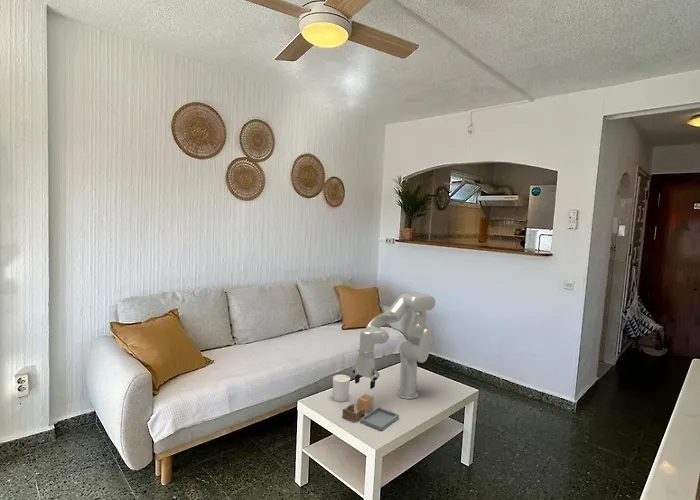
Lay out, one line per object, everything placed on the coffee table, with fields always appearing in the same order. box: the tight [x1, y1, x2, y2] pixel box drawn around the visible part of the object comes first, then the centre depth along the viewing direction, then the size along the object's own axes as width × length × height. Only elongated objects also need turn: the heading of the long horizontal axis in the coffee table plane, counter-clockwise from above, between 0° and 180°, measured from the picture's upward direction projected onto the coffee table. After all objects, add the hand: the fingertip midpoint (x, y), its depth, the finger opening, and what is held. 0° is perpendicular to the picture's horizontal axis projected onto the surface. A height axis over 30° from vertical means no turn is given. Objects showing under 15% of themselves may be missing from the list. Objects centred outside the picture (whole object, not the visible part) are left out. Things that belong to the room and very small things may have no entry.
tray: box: [359, 406, 400, 432], centre depth 197 cm, size 17×13×2 cm
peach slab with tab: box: [356, 393, 375, 415], centre depth 209 cm, size 11×5×7 cm, turn 143°
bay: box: [342, 403, 366, 424], centre depth 200 cm, size 8×8×4 cm
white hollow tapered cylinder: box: [332, 374, 351, 403], centre depth 220 cm, size 10×10×12 cm
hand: (364, 385), depth 206 cm, fingers open, 9 cm apart
